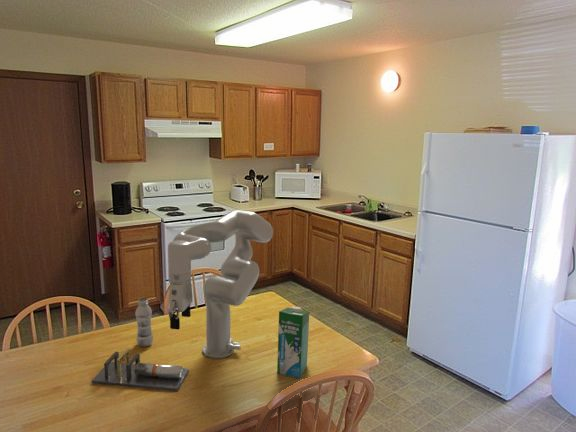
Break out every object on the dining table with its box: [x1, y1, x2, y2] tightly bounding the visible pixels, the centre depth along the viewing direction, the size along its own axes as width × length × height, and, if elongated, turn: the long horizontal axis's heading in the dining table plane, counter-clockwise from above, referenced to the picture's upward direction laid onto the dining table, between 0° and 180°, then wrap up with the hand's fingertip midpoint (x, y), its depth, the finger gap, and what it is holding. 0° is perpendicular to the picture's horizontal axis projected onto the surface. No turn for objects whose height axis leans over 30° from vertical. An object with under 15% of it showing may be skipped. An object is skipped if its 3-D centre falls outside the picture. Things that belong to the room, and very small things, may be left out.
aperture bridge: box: [117, 348, 131, 379], centre depth 151 cm, size 1×8×8 cm, turn 174°
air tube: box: [135, 362, 184, 378], centre depth 150 cm, size 16×4×4 cm, turn 85°
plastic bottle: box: [134, 297, 154, 348], centre depth 171 cm, size 6×7×20 cm
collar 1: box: [103, 351, 120, 378], centre depth 151 cm, size 1×8×6 cm, turn 175°
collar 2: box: [126, 352, 141, 380], centre depth 150 cm, size 1×8×6 cm, turn 174°
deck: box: [91, 361, 190, 392], centre depth 151 cm, size 31×12×1 cm, turn 85°
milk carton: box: [276, 306, 310, 379], centre depth 157 cm, size 9×9×25 cm
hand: (180, 322), depth 148 cm, fingers open, 9 cm apart
